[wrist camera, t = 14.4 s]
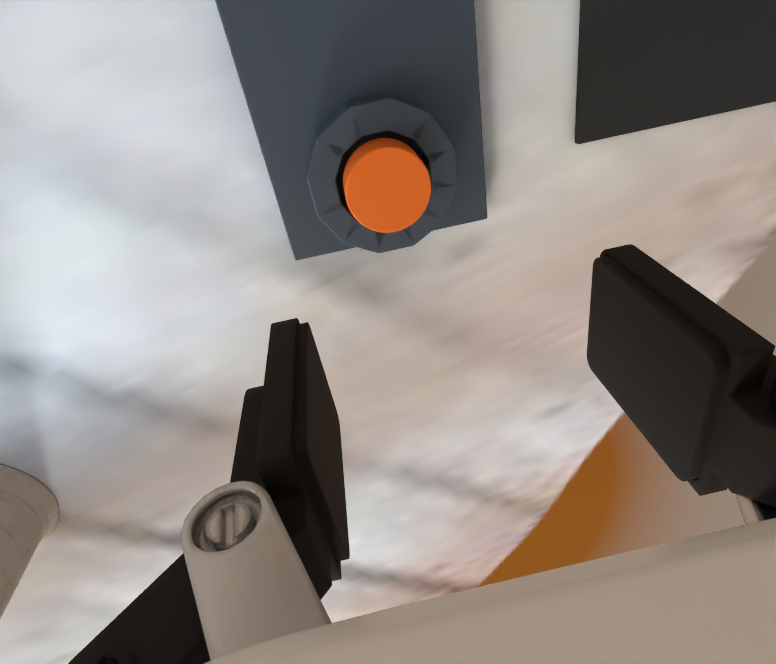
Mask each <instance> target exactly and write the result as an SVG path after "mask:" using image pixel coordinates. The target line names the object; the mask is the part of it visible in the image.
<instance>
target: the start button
mask: <svg viewBox="0 0 776 664" xmlns="http://www.w3.org/2000/svg"><path fill="white" fill-rule="evenodd" d="M343 187H344V192H345V197H346V202H347V205H348V208H349V210H350V212H351V213H352V215H353V216H354V218H355V219H356V220H357V221H358V222H359V223H360V224H362V225H363V226H365V227H366V228H368V229H370V230H373V231H377V232H383V233H391V232H396V231H400V230H403V229H405V228H407V227H409V226H411V225H412V224H413V223H415V222H416V221H417V220H418V219H419V218H420V217H421V215H422V214H423V213H424V211H425V209H426V207H427V205H428V203H429V200H430V195H431V180H430V176H429V173H428V170H427V168H426V166H425V165H424V163H423V162H422V160H421V159H420V158H419V157H418V155H417V154H416V153H415V152H414V150H413V149H412V148H411V147H409V146H408V145H407V144H405V143H404V142H402V141H399V140H396V139H393V138H377V139H373V140H370V141H368V142H366V143H364V144H362V145H361V146H359V147H358V148H357V149H356V150H355V151H354V152H353V153H352V155H351V156H350V157H349V159H348V161H347V163H346V166H345V169H344V173H343Z"/></svg>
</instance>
